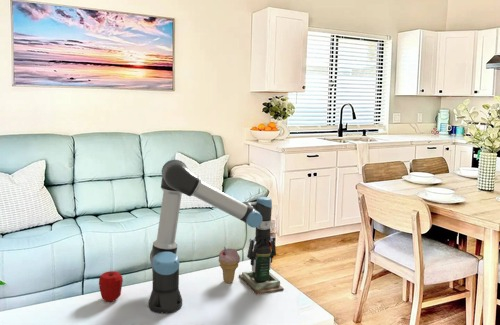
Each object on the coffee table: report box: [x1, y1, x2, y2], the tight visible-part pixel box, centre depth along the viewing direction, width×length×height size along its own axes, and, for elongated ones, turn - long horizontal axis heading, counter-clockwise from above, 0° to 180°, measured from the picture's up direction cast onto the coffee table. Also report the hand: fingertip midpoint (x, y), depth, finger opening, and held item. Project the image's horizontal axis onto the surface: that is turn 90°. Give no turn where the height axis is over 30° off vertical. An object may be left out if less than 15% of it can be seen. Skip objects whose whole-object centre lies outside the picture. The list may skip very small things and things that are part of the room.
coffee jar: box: [252, 244, 272, 282], centre depth 219 cm, size 10×8×19 cm
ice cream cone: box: [218, 247, 241, 284], centre depth 219 cm, size 11×11×20 cm
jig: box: [238, 270, 285, 296], centre depth 220 cm, size 15×22×4 cm
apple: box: [98, 270, 124, 303], centre depth 196 cm, size 10×10×14 cm
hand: (261, 269), depth 219 cm, fingers closed on coffee jar, 8 cm apart
